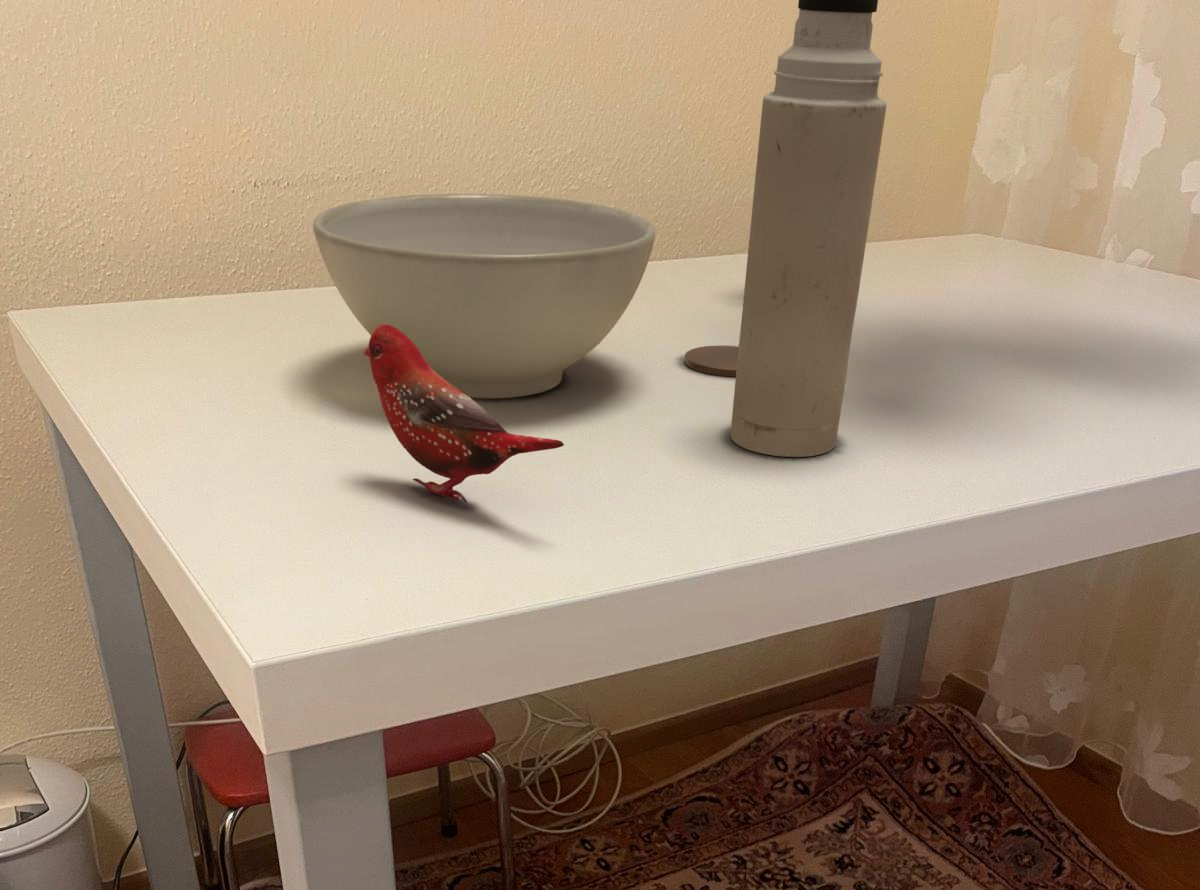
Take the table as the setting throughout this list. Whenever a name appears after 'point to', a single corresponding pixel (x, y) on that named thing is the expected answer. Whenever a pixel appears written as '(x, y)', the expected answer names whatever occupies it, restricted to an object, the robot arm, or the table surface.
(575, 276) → the decorative bowl
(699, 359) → the walnut coaster
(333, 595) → the table surface
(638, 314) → the table surface
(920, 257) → the table surface
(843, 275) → the thermos bottle
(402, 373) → the decorative bird figurine
